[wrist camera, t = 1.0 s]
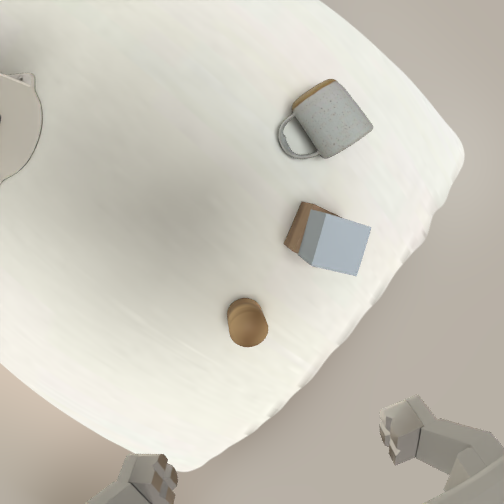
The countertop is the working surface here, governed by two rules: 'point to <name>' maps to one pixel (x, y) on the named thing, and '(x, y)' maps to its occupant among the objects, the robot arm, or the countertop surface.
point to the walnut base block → (301, 225)
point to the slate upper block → (334, 243)
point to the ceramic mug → (327, 120)
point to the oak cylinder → (246, 322)
